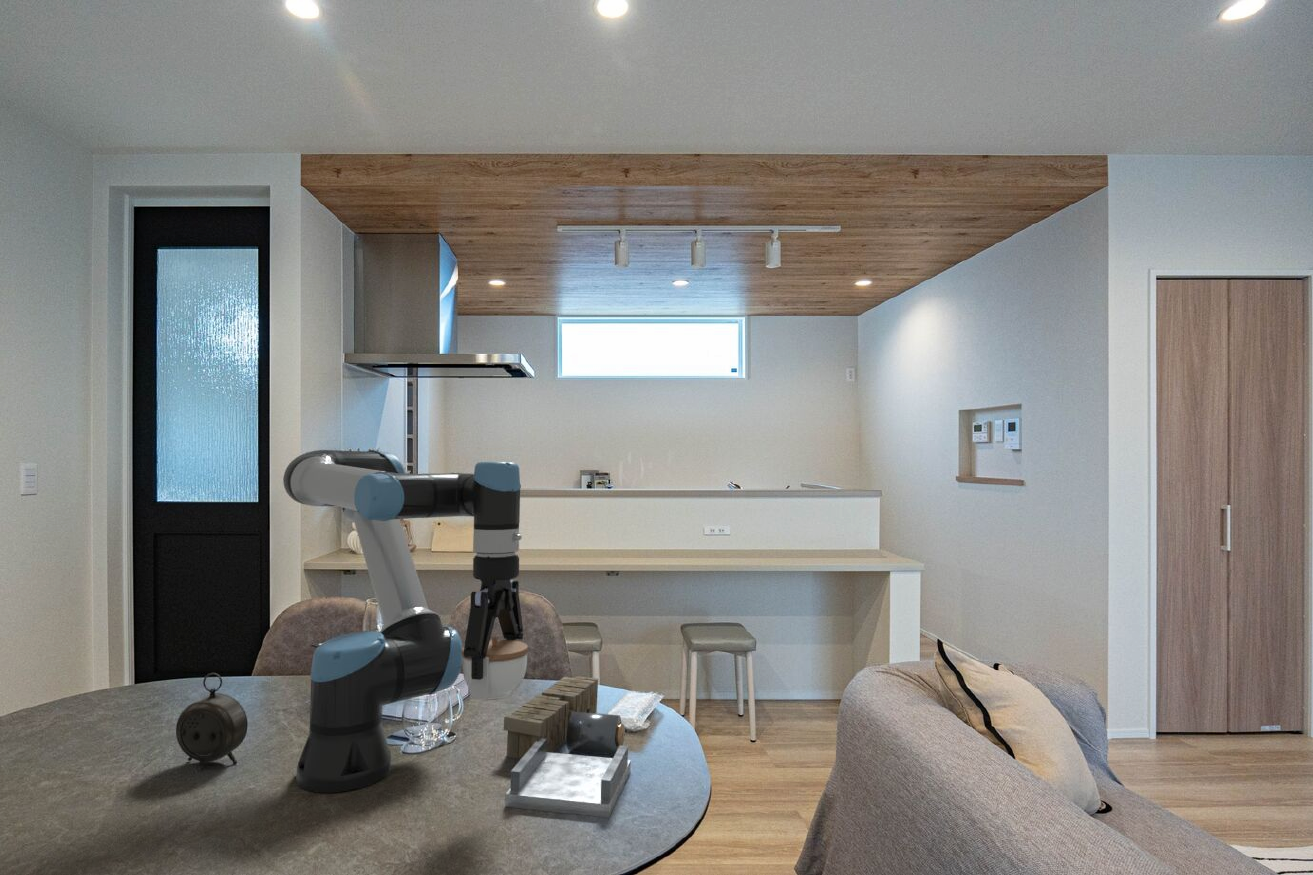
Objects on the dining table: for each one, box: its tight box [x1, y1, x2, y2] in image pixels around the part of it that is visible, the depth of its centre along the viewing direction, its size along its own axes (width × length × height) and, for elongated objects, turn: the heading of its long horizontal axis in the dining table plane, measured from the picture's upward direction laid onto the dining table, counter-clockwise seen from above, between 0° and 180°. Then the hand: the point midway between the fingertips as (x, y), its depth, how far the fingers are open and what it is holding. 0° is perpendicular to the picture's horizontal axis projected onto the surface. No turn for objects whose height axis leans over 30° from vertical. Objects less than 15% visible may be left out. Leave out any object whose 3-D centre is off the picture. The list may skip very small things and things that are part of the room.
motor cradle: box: [504, 712, 632, 819], centre depth 127 cm, size 17×28×7 cm, turn 171°
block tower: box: [503, 676, 599, 760], centre depth 146 cm, size 8×8×29 cm
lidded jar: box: [461, 635, 529, 701], centre depth 119 cm, size 11×11×9 cm
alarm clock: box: [175, 672, 249, 771], centre depth 128 cm, size 11×5×16 cm, turn 85°
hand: (494, 688), depth 119 cm, fingers closed on lidded jar, 11 cm apart
